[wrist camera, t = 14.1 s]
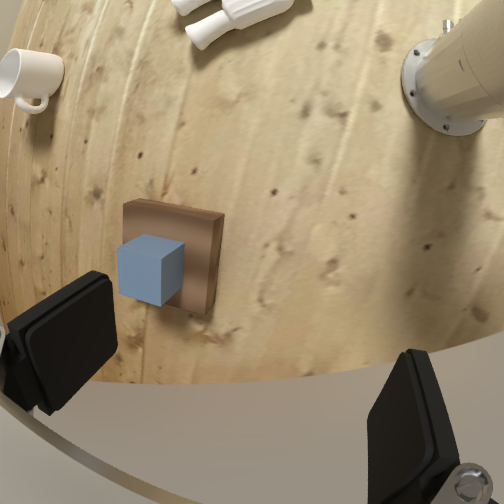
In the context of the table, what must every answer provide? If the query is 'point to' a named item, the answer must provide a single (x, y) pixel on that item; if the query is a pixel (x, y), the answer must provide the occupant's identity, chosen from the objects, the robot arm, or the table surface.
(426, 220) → the table surface
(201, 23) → the binoculars
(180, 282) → the slate cube
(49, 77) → the mug
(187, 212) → the walnut base
